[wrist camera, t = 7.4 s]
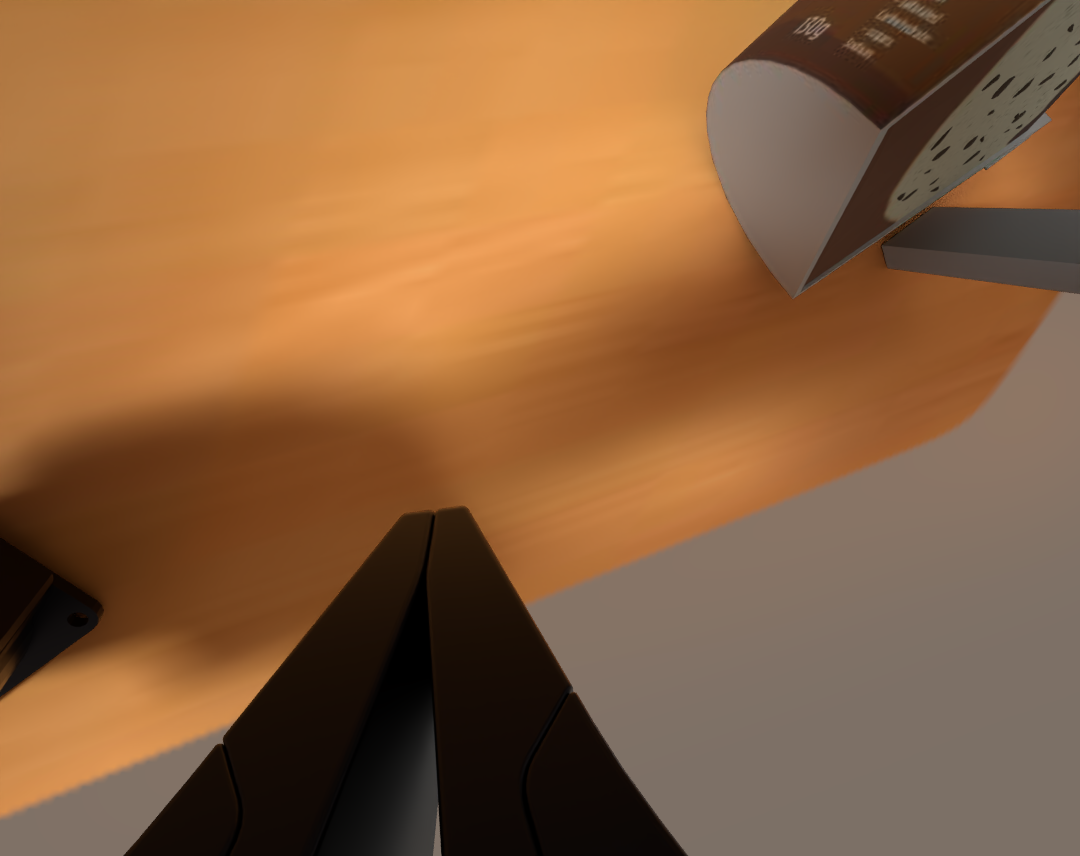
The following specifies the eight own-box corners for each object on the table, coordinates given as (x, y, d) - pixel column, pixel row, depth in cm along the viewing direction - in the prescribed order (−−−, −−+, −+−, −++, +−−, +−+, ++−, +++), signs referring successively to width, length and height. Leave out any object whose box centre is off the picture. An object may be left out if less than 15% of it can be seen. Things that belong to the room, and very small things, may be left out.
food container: (684, 194, 22) (913, 16, 20) (785, 312, 20) (1041, 131, 19) (673, -151, 10) (1215, -632, 9) (911, 71, 9) (1614, -463, 7)
